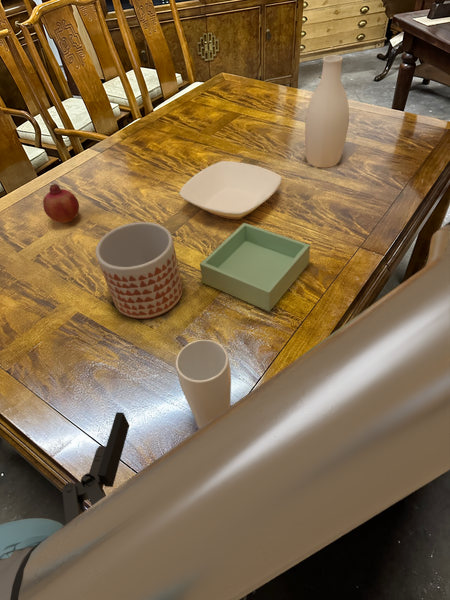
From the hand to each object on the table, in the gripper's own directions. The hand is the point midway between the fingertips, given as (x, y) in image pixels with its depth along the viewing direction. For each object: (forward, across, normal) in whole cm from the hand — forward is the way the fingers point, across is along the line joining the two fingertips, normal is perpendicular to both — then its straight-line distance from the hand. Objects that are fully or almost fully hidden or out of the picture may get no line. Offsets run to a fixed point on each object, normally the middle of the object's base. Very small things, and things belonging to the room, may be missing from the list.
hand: (186, 421), depth 43 cm
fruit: (+62, -42, -18) cm, 77 cm away
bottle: (+90, +22, -17) cm, 94 cm away
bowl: (+69, -2, -17) cm, 71 cm away
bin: (+43, +5, -17) cm, 46 cm away
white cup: (+10, 0, -18) cm, 20 cm away
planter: (+36, -16, -18) cm, 43 cm away
